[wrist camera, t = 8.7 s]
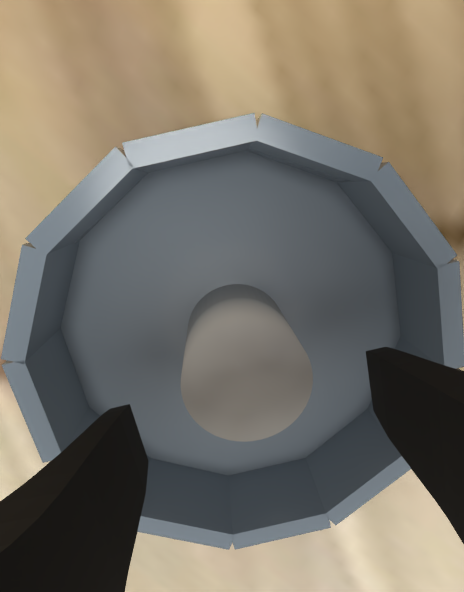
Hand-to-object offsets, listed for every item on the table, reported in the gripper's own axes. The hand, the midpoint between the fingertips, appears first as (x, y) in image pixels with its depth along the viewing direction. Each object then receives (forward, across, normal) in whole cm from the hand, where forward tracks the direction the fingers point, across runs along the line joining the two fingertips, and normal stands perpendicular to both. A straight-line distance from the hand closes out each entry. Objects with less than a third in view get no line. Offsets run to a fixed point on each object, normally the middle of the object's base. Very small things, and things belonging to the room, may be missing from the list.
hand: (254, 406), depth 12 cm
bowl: (+7, 0, 0) cm, 7 cm away
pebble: (+6, 0, 0) cm, 6 cm away
